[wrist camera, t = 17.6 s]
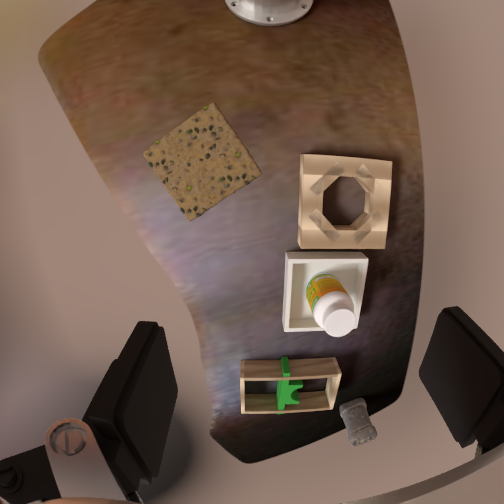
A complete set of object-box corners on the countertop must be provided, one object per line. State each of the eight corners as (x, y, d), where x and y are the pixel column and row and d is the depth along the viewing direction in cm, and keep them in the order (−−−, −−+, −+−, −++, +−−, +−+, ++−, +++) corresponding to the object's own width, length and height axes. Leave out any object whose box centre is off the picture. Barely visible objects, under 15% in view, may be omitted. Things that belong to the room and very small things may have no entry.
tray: (285, 251, 41) (288, 259, 38) (360, 251, 41) (368, 258, 38) (282, 320, 44) (284, 331, 42) (351, 318, 45) (356, 328, 42)
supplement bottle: (303, 274, 41) (317, 307, 32) (339, 269, 41) (362, 299, 32) (305, 307, 43) (319, 345, 34) (340, 301, 43) (360, 337, 34)
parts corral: (240, 360, 47) (240, 378, 43) (335, 357, 47) (341, 373, 43) (241, 396, 50) (241, 413, 45) (327, 392, 50) (332, 409, 46)
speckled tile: (264, 173, 38) (264, 174, 37) (190, 222, 40) (188, 224, 39) (214, 100, 35) (213, 99, 34) (142, 153, 37) (140, 153, 36)
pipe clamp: (294, 397, 50) (296, 413, 46) (275, 397, 50) (277, 414, 46) (302, 356, 47) (305, 373, 42) (281, 356, 46) (283, 373, 42)
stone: (337, 403, 51) (347, 441, 42) (364, 394, 50) (377, 431, 41) (340, 413, 52) (349, 449, 43) (365, 404, 51) (378, 440, 42)
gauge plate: (300, 154, 37) (304, 154, 34) (382, 160, 37) (392, 161, 34) (297, 242, 41) (301, 248, 38) (376, 242, 41) (384, 248, 38)
